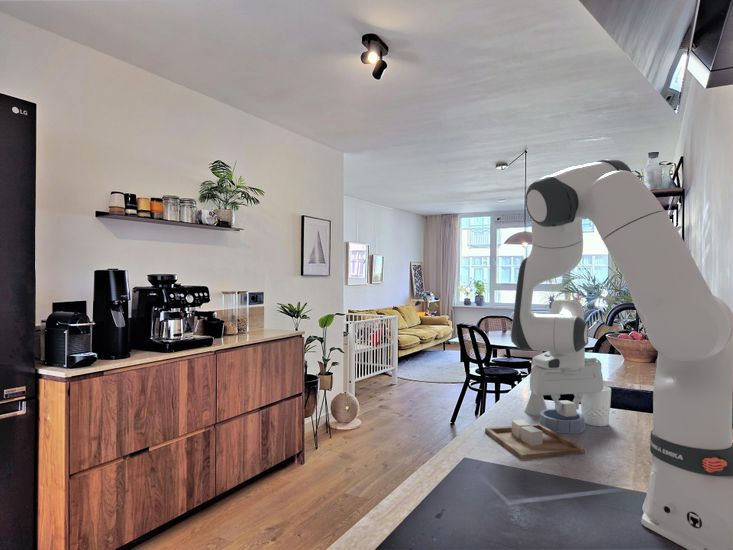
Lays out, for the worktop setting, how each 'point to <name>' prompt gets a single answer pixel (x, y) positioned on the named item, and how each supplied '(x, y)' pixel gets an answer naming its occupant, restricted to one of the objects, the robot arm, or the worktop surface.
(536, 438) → the cream white small block
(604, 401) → the white cup
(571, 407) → the white small block
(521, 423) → the cream small block
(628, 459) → the worktop surface
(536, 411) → the flask
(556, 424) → the bowl
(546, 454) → the tray
